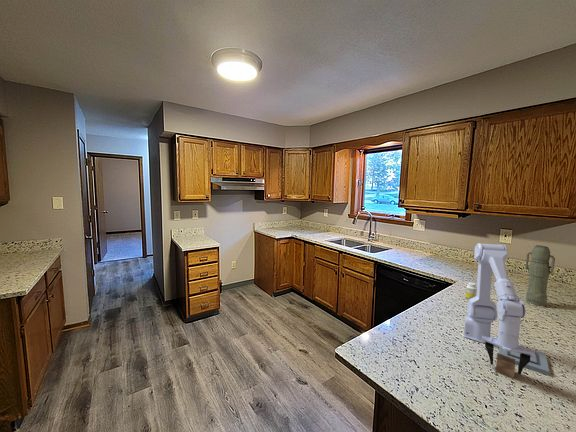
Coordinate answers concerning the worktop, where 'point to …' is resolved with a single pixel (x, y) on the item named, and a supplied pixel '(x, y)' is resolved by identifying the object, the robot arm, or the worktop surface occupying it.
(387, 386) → the worktop surface
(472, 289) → the supplement bottle
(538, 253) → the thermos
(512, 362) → the walnut block
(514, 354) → the slate base plate
